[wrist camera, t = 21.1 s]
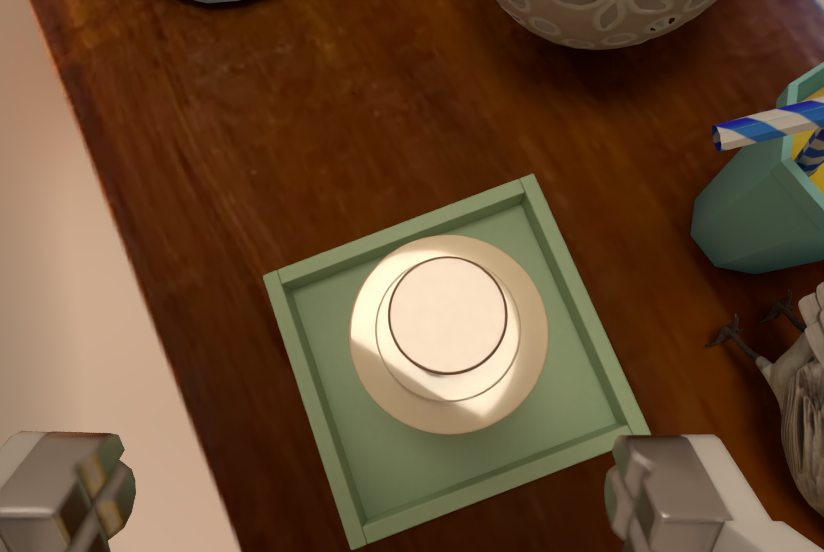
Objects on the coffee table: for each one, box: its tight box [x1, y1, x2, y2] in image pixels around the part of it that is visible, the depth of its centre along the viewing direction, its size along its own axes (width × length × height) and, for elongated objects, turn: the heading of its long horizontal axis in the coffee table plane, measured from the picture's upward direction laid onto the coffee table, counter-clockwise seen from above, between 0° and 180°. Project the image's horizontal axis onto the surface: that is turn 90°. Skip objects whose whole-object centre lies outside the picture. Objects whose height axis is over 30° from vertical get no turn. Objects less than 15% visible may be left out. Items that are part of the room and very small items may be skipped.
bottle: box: [349, 235, 549, 435], centre depth 21 cm, size 6×6×15 cm
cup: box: [690, 62, 824, 274], centre depth 23 cm, size 14×8×15 cm, turn 100°
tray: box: [263, 174, 651, 550], centre depth 28 cm, size 15×14×3 cm
